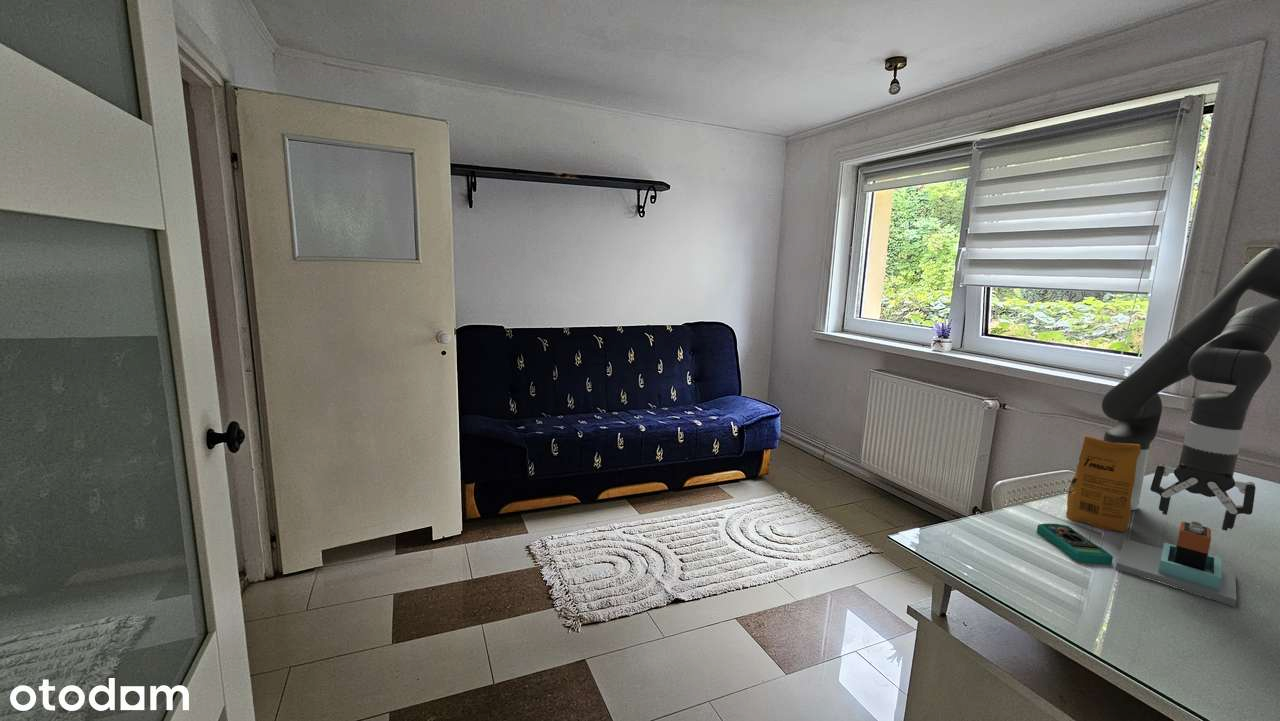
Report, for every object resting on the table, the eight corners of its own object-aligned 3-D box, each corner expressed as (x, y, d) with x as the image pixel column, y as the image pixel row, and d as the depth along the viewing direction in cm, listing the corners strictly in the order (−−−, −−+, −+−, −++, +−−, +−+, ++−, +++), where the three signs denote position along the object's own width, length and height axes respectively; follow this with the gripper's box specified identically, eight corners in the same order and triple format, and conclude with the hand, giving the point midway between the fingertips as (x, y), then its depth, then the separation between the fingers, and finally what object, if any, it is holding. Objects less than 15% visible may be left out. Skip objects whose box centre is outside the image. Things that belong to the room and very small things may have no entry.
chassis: (1115, 569, 111) (1118, 551, 110) (1124, 544, 121) (1127, 528, 121) (1235, 607, 98) (1239, 587, 98) (1233, 576, 109) (1237, 558, 108)
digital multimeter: (1066, 534, 127) (1068, 523, 127) (1113, 567, 112) (1115, 554, 112) (1034, 532, 128) (1035, 520, 127) (1076, 564, 113) (1078, 552, 113)
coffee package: (1066, 507, 141) (1079, 430, 138) (1128, 523, 133) (1143, 441, 129) (1062, 519, 134) (1075, 437, 131) (1127, 536, 126) (1143, 449, 122)
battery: (1172, 571, 108) (1181, 526, 106) (1173, 559, 112) (1182, 516, 111) (1202, 580, 105) (1212, 534, 103) (1203, 568, 109) (1212, 523, 108)
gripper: (1159, 440, 107) (1144, 514, 110) (1266, 460, 96) (1246, 540, 99) (1162, 434, 112) (1148, 504, 115) (1264, 452, 101) (1246, 529, 104)
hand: (1193, 521), depth 107 cm, fingers open, 8 cm apart
